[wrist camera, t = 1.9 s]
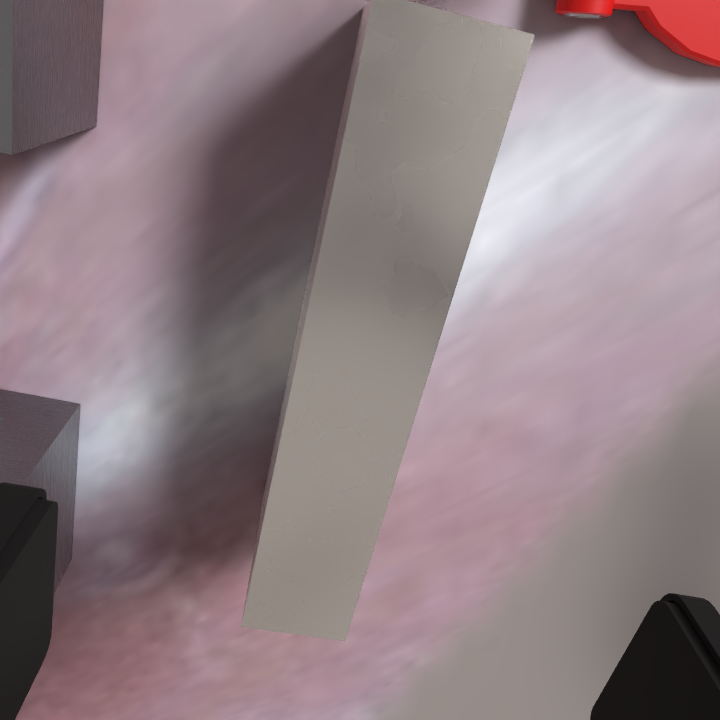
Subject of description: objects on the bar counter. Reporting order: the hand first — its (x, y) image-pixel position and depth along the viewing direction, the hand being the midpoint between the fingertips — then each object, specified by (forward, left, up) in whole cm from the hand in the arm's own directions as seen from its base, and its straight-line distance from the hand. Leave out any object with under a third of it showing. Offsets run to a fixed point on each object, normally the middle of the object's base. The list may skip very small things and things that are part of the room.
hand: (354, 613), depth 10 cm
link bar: (-1, 0, -12) cm, 12 cm away
